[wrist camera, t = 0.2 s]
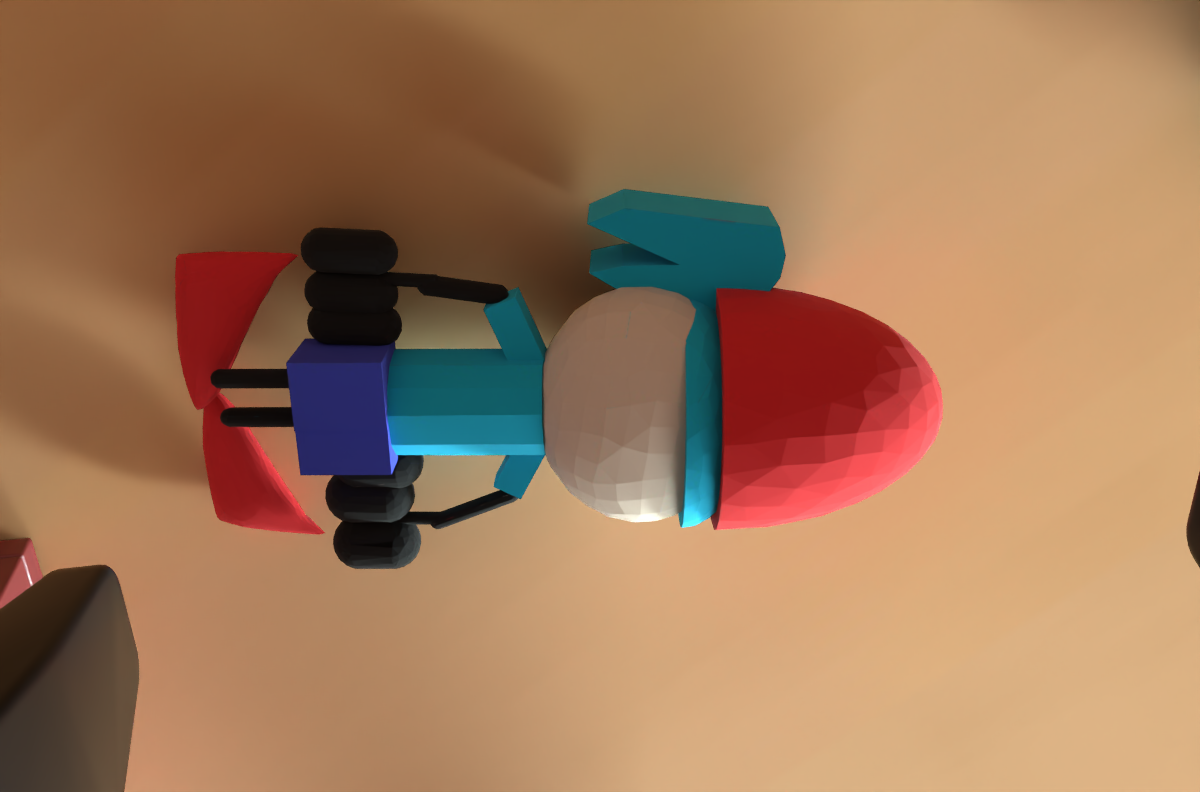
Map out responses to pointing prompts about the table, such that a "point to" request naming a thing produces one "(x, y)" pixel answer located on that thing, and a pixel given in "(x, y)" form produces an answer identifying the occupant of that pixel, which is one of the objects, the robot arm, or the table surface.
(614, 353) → the toy figure
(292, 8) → the table surface
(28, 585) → the dark red shallow box
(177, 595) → the table surface
